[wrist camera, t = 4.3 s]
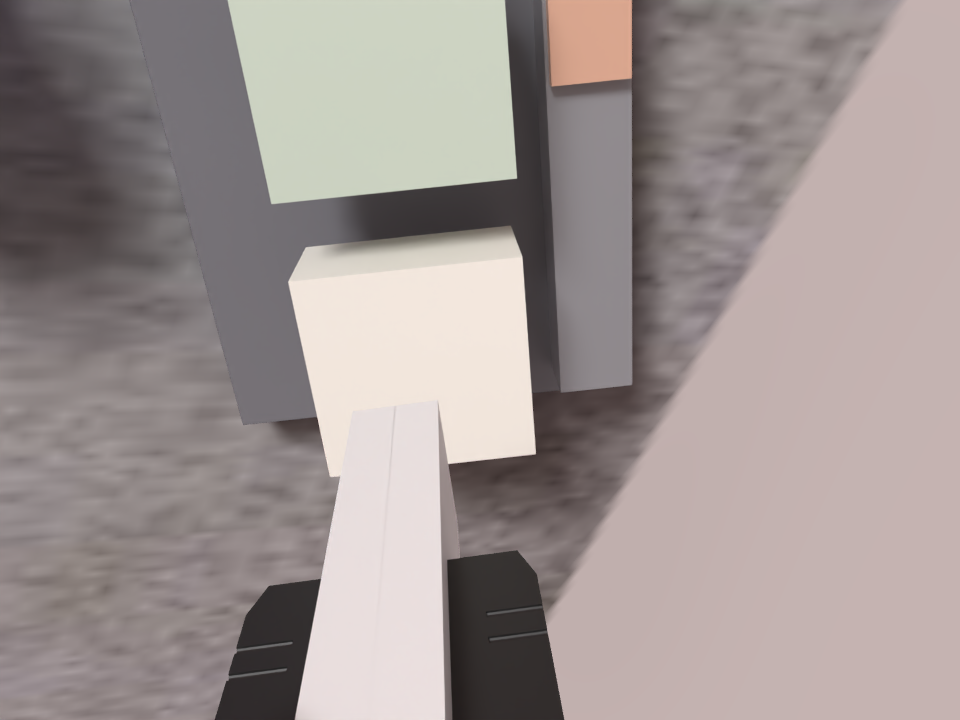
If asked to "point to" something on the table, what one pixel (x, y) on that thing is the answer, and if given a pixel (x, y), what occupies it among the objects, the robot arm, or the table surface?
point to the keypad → (414, 196)
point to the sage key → (376, 94)
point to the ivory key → (420, 337)
